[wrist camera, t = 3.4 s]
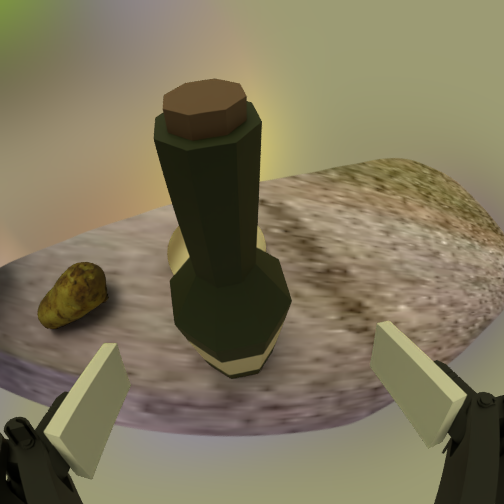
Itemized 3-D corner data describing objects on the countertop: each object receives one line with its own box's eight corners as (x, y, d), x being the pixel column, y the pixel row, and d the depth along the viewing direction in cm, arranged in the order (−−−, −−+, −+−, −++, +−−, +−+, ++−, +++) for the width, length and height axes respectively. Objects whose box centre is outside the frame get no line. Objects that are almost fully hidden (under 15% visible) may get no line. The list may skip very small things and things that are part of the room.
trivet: (163, 296, 36) (157, 287, 33) (183, 219, 42) (179, 206, 40) (261, 306, 35) (262, 297, 33) (267, 224, 42) (268, 211, 39)
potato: (55, 284, 36) (27, 259, 29) (122, 278, 37) (98, 248, 30) (48, 334, 32) (15, 314, 25) (118, 334, 33) (89, 313, 26)
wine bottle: (191, 337, 33) (58, 109, 7) (246, 302, 35) (242, 44, 10) (228, 392, 29) (99, 282, 4) (286, 353, 32) (406, 125, 6)
